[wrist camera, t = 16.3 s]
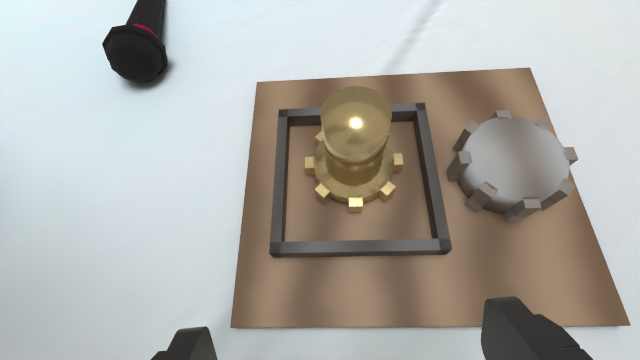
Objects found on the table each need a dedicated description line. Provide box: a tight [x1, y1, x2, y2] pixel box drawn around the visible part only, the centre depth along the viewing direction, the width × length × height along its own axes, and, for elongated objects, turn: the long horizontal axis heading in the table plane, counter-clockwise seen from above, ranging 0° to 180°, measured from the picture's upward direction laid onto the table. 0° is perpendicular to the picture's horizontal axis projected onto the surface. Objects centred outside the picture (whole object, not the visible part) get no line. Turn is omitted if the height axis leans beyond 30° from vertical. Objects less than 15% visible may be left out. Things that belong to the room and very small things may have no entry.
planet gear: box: [305, 86, 403, 213], centre depth 23 cm, size 8×8×8 cm
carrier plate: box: [230, 68, 630, 328], centre depth 25 cm, size 26×22×4 cm
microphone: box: [102, 0, 167, 83], centre depth 36 cm, size 6×6×20 cm
